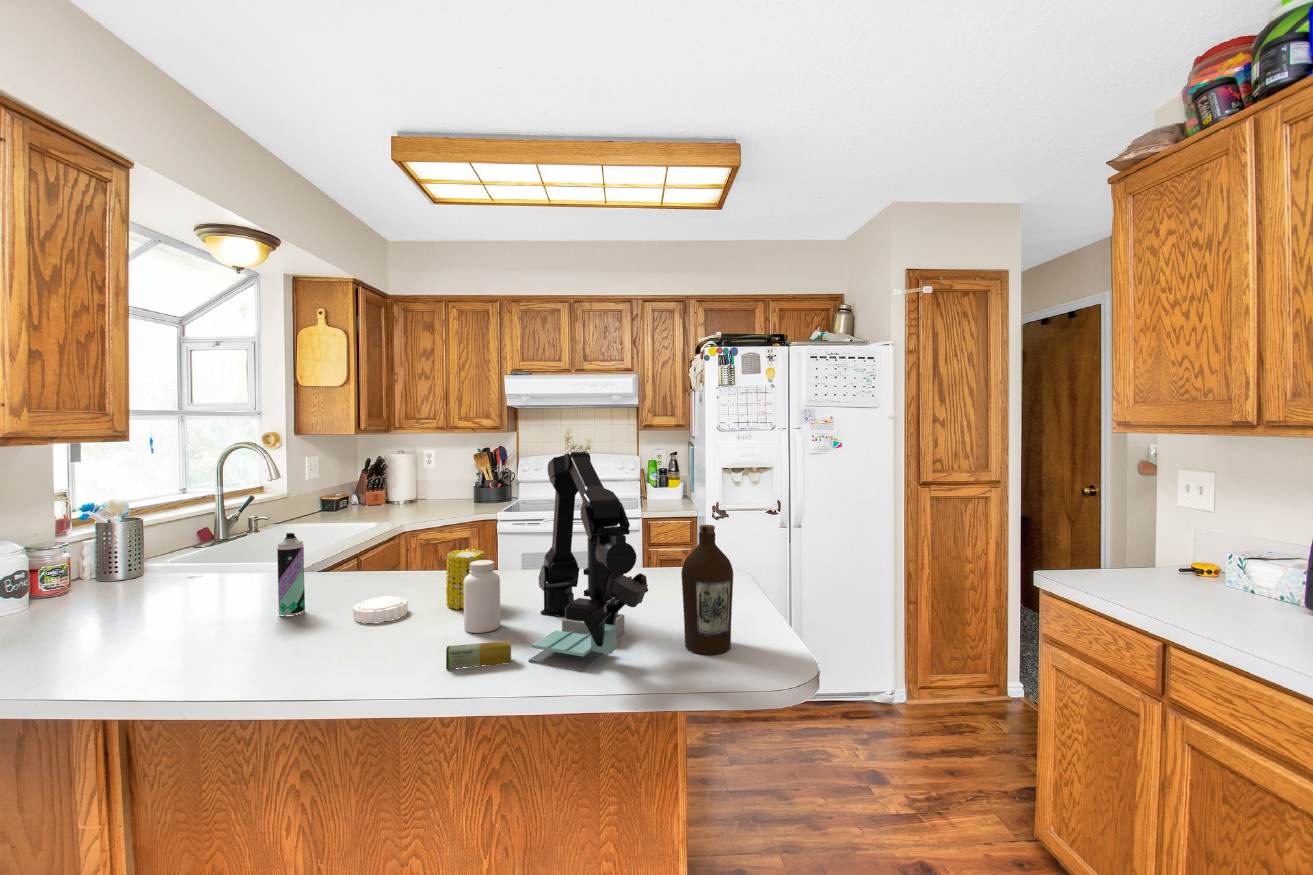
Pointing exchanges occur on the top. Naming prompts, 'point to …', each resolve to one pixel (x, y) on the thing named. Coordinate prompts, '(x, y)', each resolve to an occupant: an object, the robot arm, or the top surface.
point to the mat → (566, 659)
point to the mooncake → (380, 609)
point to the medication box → (478, 654)
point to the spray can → (291, 575)
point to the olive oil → (707, 596)
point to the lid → (578, 642)
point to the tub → (582, 628)
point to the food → (459, 574)
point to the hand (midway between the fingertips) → (603, 642)
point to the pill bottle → (481, 598)
